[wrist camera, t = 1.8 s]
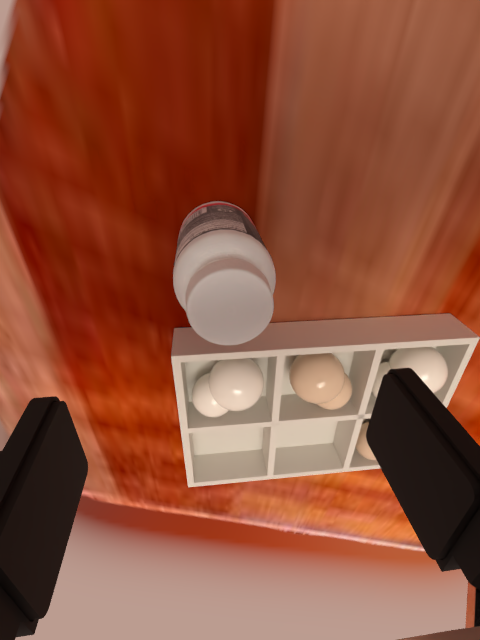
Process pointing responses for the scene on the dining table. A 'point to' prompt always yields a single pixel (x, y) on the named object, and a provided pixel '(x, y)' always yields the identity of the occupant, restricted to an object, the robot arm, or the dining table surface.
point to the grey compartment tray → (288, 408)
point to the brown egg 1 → (320, 380)
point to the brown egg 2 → (364, 443)
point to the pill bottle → (223, 274)
